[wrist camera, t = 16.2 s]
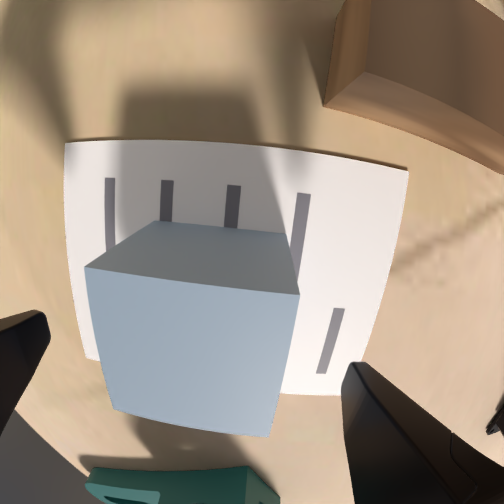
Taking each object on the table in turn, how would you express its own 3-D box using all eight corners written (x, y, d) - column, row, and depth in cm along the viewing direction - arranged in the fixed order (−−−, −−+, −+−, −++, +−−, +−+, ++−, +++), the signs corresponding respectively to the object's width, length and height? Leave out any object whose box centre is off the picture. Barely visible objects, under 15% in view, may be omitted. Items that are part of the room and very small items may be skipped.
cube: (286, 233, 11) (300, 295, 6) (269, 345, 12) (268, 437, 8) (155, 220, 11) (83, 266, 6) (157, 330, 12) (113, 409, 8)
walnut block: (504, 97, 8) (576, 92, 4) (497, 173, 10) (574, 191, 5) (335, 19, 8) (372, -50, 4) (322, 107, 10) (364, 71, 5)
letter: (408, 171, 10) (409, 171, 10) (346, 393, 13) (347, 395, 13) (66, 143, 10) (64, 143, 10) (86, 356, 14) (86, 357, 13)
